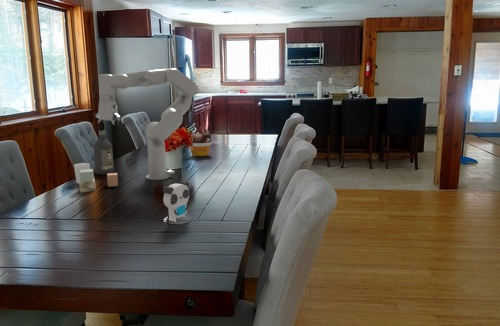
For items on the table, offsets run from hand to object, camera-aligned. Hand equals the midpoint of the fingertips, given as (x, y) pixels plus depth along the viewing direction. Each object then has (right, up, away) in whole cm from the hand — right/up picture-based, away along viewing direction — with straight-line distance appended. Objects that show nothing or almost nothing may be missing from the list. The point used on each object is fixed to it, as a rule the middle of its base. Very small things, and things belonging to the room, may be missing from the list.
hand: (108, 131), depth 221 cm
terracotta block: (+2, -28, +1) cm, 28 cm away
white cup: (-15, -27, +6) cm, 32 cm away
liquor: (-12, -23, +29) cm, 39 cm away
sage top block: (-7, -25, -9) cm, 28 cm away
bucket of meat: (+38, -11, +85) cm, 94 cm away
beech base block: (-7, -30, -8) cm, 32 cm away
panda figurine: (+45, -40, -53) cm, 80 cm away
